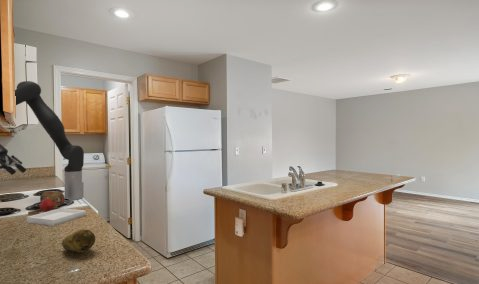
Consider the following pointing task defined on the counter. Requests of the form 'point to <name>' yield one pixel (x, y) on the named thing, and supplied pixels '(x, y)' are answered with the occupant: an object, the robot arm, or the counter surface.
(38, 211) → the collar
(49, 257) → the counter surface
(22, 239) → the counter surface
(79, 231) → the potato
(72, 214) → the tray
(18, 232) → the counter surface
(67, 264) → the counter surface
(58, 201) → the tin
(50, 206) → the red rounded lump
